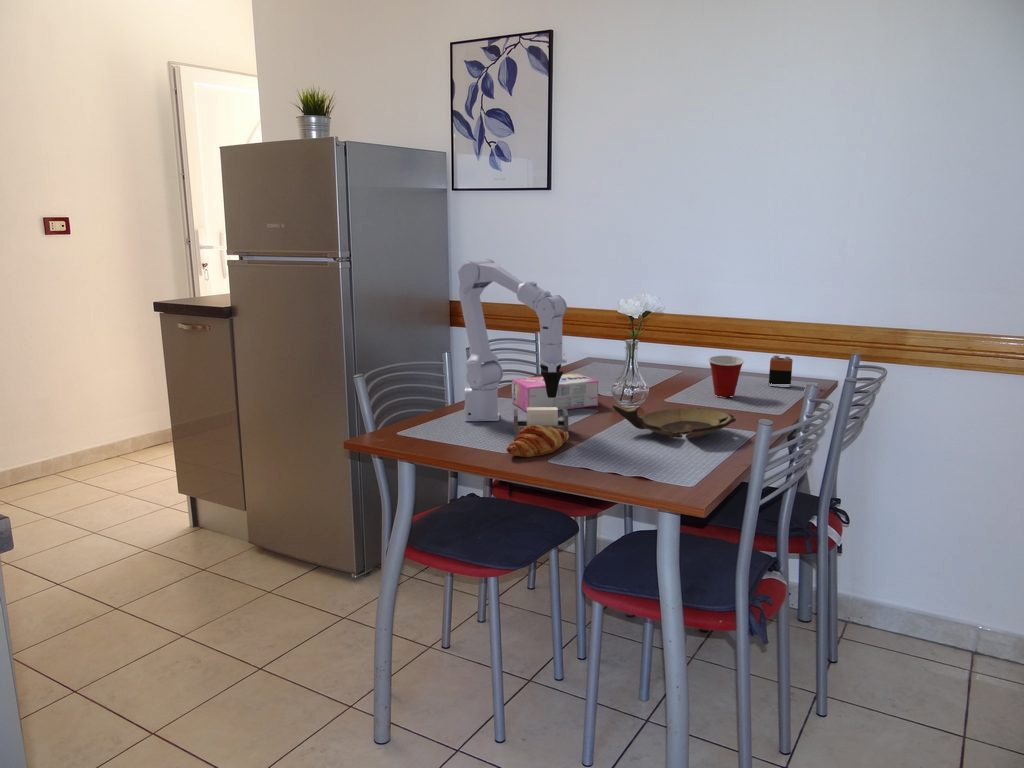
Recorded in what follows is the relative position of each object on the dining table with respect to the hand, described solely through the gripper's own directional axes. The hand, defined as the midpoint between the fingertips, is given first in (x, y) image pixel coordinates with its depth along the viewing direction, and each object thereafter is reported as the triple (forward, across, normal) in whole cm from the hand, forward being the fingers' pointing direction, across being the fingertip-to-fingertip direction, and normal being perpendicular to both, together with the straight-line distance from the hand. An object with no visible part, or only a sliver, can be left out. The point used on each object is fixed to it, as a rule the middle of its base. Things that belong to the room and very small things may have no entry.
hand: (551, 394), depth 206 cm
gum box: (+6, +22, -4) cm, 23 cm away
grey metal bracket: (+10, -2, +3) cm, 11 cm away
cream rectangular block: (+9, -2, +2) cm, 10 cm away
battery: (+10, +53, -77) cm, 94 cm away
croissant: (+10, -18, +3) cm, 21 cm away
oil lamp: (+10, -3, -32) cm, 34 cm away
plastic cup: (+10, +38, -56) cm, 68 cm away
